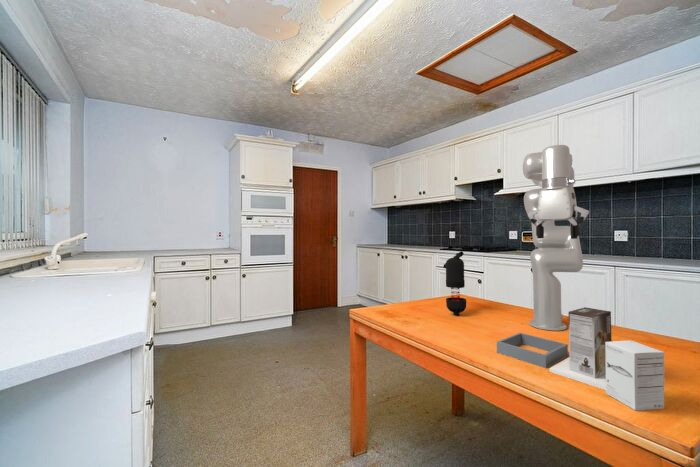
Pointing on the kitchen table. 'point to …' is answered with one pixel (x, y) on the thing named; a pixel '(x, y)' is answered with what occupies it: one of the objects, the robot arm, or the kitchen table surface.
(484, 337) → the kitchen table surface
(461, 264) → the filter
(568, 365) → the mat
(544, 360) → the packet holder
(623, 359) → the supplement box
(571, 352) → the coffee box
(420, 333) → the kitchen table surface
